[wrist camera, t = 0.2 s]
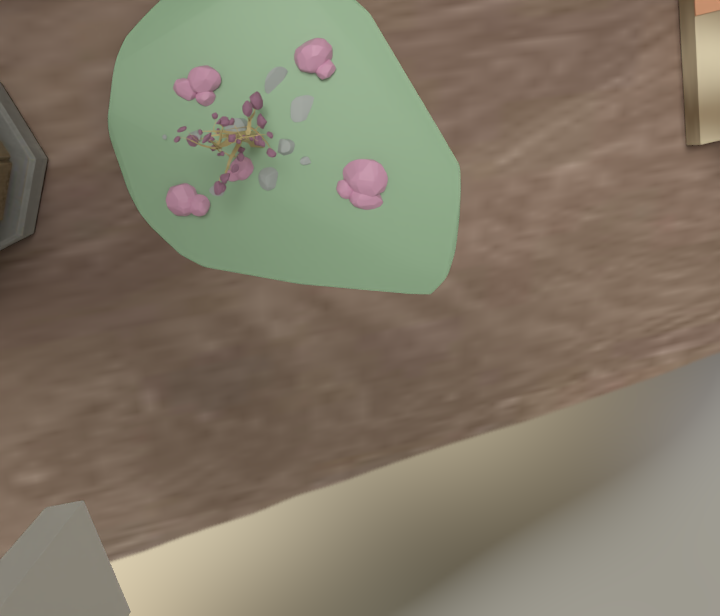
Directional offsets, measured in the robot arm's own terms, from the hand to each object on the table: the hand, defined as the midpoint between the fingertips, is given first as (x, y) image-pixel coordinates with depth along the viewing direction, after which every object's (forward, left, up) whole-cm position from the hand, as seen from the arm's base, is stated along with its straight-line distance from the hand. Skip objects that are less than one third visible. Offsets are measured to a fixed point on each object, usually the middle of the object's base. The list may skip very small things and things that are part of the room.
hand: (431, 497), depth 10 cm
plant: (-7, -4, -29) cm, 30 cm away
